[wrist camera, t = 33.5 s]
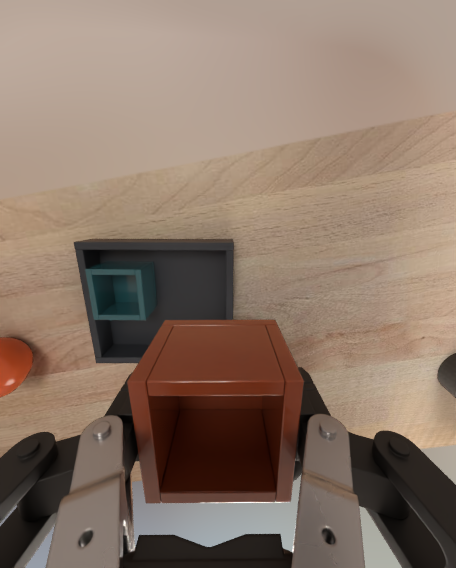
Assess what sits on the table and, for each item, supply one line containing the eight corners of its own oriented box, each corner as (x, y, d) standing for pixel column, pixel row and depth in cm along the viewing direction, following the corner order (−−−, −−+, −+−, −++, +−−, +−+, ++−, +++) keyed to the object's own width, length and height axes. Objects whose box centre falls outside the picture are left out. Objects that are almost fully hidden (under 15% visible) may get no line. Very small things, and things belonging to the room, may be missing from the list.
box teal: (107, 260, 27) (84, 269, 23) (154, 261, 27) (140, 269, 23) (113, 304, 29) (93, 320, 24) (157, 304, 29) (145, 320, 24)
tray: (93, 238, 27) (73, 241, 24) (232, 239, 27) (233, 242, 24) (110, 347, 31) (95, 363, 28) (231, 347, 31) (232, 363, 28)
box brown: (164, 319, 11) (126, 381, 7) (275, 319, 11) (304, 380, 7) (172, 409, 13) (145, 504, 9) (269, 408, 13) (291, 503, 9)
